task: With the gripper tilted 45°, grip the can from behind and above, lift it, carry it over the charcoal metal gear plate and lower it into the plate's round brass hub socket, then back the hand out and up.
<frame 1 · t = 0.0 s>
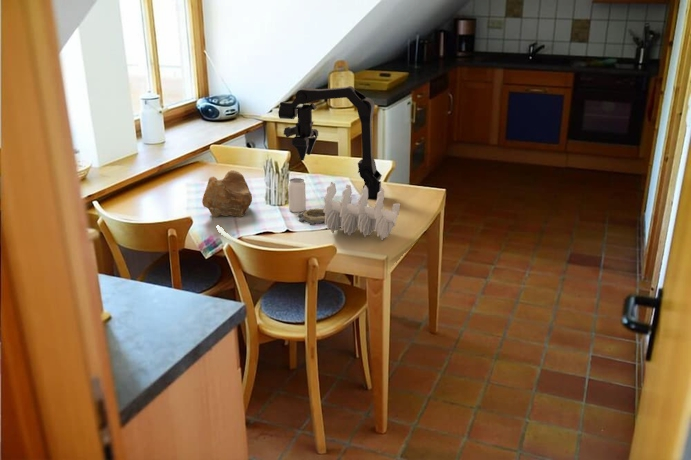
hand: (305, 157, 267), 15 cm above the table, tool pointing down, fingers open, 9 cm apart
gear plate: (317, 218, 243), on the table
can: (297, 210, 251), on the table
white pleated crown: (360, 234, 228), on the table
rough brown rock: (232, 213, 248), on the table
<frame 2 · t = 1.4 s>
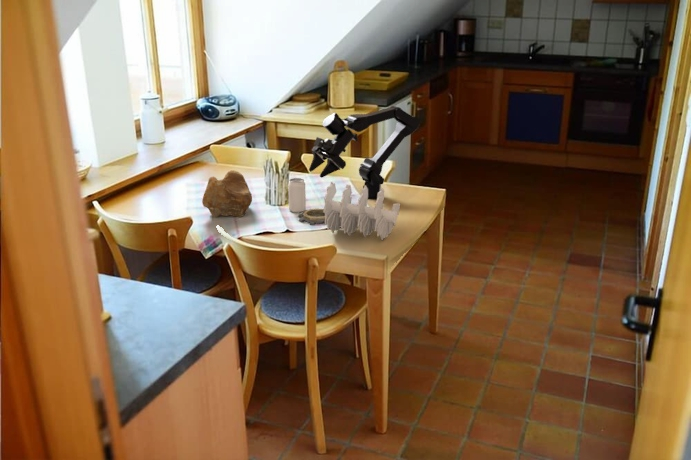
hand: (315, 173, 250), 13 cm above the table, tool tilted 45°, fingers open, 9 cm apart
nothing on the table moved.
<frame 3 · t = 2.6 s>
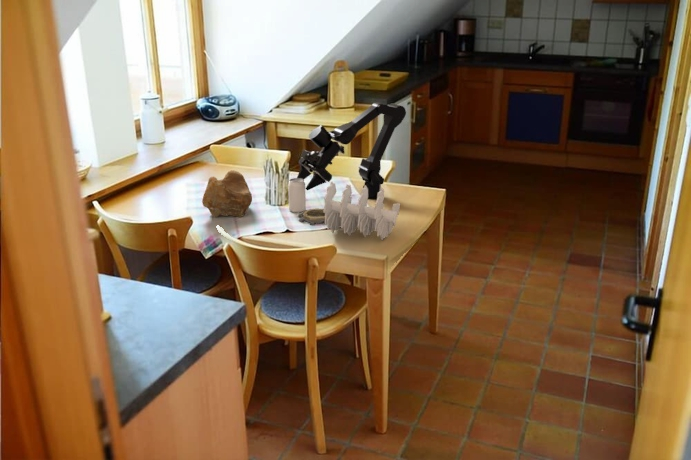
hand: (301, 186, 249), 9 cm above the table, tool tilted 45°, fingers open, 9 cm apart
nothing on the table moved.
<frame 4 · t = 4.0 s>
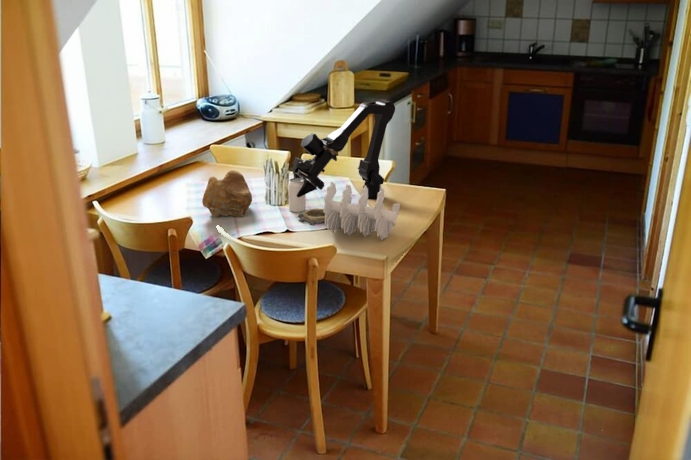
hand: (293, 194, 248), 7 cm above the table, tool tilted 45°, fingers closed on can, 6 cm apart
can: (297, 210, 251), on the table, touching gripper
everything else where it was.
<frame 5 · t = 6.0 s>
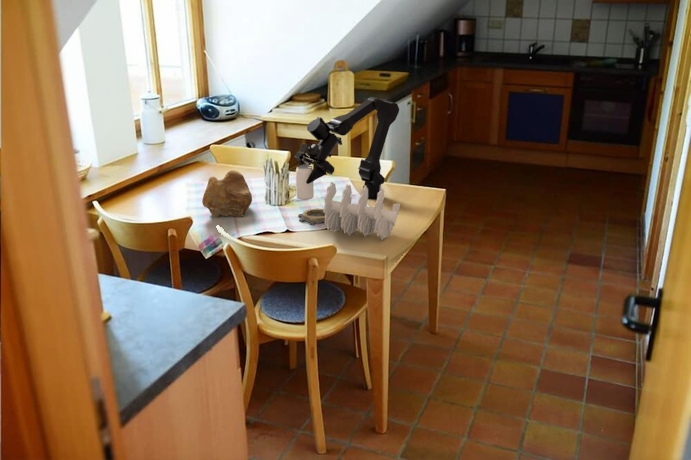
hand: (301, 181, 242), 13 cm above the table, tool tilted 45°, fingers closed on can, 6 cm apart
can: (305, 197, 245), point 6 cm above the table, touching gripper
everything else where it was.
when the fingers open (9 cm above the table, at t = 8.1 s): can drops 1 cm, resting on gear plate.
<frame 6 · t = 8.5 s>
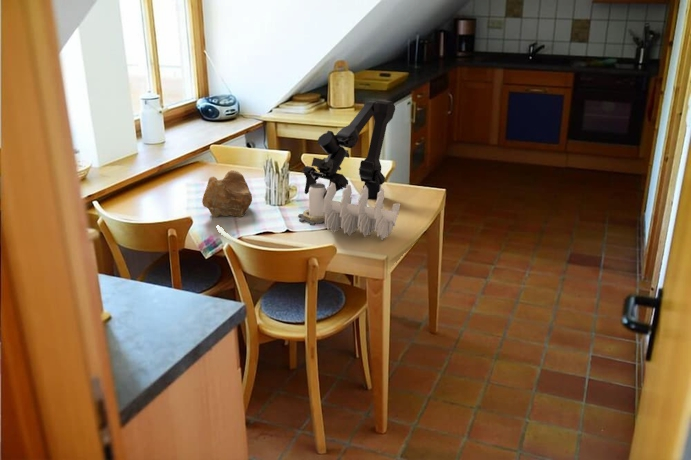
hand: (314, 196, 238), 9 cm above the table, tool tilted 45°, fingers open, 9 cm apart
can: (317, 216, 242), point 1 cm above the table, touching gear plate
everything else where it was.
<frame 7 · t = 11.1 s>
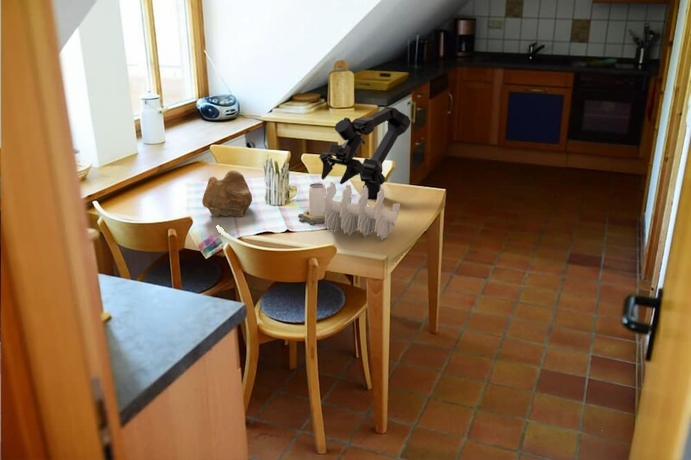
hand: (331, 181, 244), 12 cm above the table, tool tilted 45°, fingers open, 9 cm apart
nothing on the table moved.
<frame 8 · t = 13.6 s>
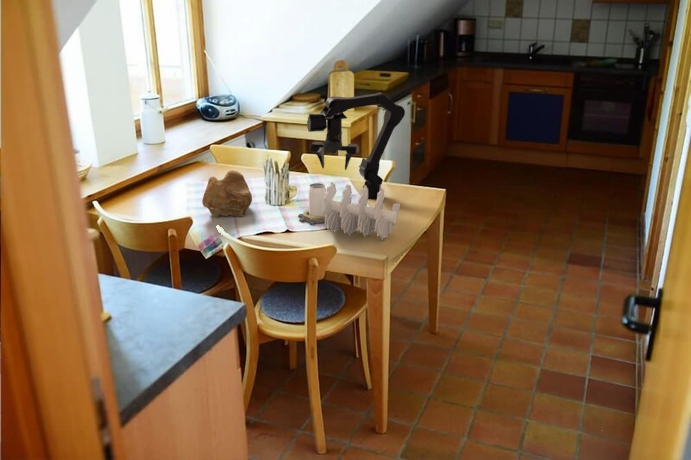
hand: (334, 169, 258), 13 cm above the table, tool pointing down, fingers open, 9 cm apart
nothing on the table moved.
at the end: can 0.1 cm off-centre on the gear plate, point 0.6 cm above the gear plate's base; can tilted 0°; the gripper is holding nothing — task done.
